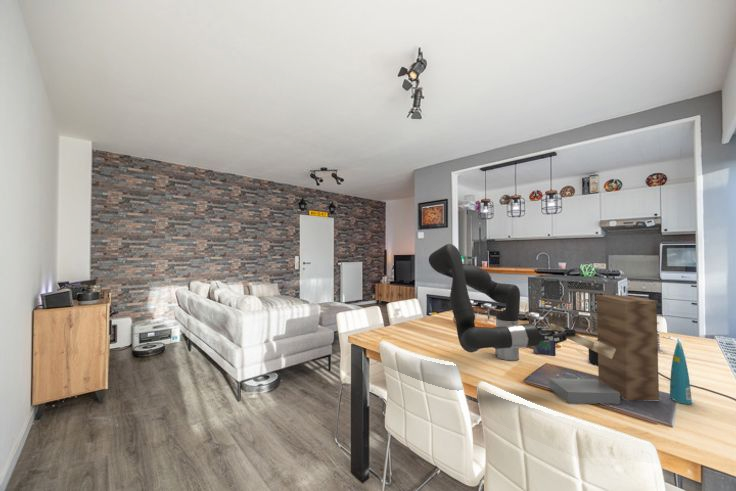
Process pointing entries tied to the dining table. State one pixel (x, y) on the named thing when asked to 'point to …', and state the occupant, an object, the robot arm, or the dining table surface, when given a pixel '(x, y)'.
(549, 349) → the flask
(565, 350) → the dining table surface
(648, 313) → the stand
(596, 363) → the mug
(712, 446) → the dining table surface
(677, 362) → the tube
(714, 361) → the dining table surface
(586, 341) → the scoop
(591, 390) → the board
